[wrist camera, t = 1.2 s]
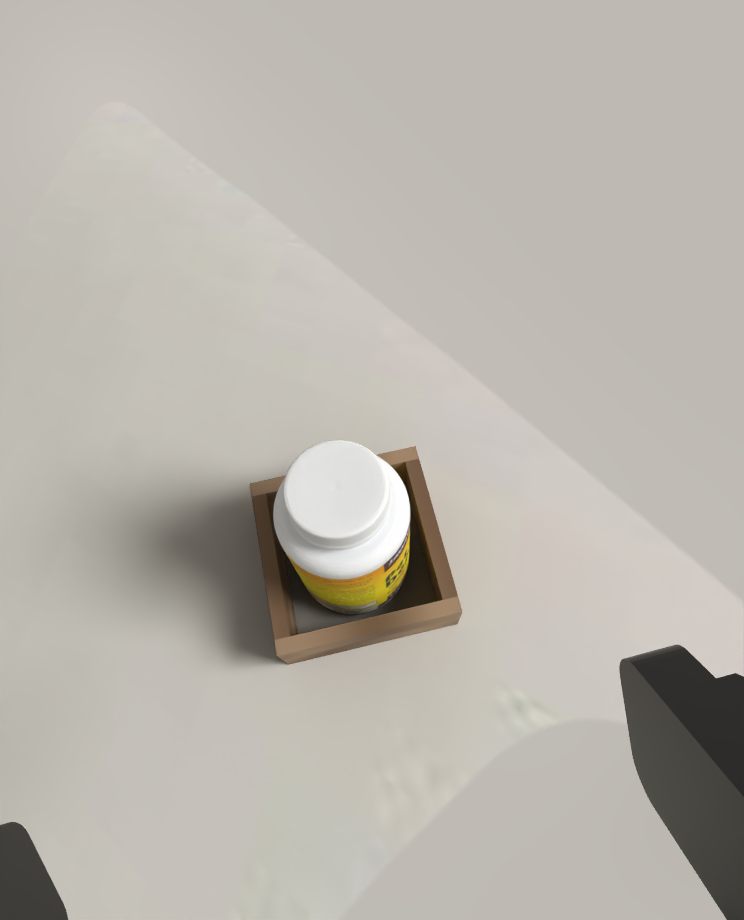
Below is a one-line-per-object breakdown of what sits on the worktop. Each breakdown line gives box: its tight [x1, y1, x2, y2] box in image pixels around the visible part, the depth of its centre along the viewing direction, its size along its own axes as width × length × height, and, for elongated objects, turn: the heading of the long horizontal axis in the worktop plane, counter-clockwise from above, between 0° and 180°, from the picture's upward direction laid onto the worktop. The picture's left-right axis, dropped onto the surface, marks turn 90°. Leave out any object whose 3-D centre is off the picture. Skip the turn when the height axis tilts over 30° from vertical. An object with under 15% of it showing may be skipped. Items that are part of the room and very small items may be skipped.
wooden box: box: [250, 446, 462, 664], centre depth 32 cm, size 8×8×3 cm
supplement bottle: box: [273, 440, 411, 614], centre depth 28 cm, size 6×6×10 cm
